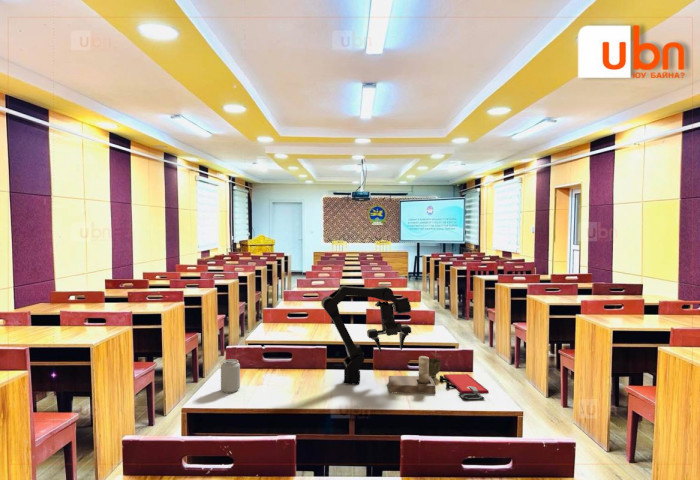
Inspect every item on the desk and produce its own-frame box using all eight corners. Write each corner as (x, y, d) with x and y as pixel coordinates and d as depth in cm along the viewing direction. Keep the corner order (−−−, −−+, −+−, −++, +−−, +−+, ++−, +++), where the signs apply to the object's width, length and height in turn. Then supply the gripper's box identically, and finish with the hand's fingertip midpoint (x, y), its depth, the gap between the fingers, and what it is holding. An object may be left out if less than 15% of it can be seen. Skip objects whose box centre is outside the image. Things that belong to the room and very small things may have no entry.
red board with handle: (459, 401, 169) (496, 400, 171) (459, 394, 169) (496, 393, 171) (435, 377, 199) (467, 377, 201) (435, 371, 199) (467, 371, 201)
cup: (439, 375, 201) (440, 357, 201) (441, 380, 193) (441, 362, 193) (423, 374, 201) (423, 357, 201) (424, 379, 194) (424, 361, 194)
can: (217, 390, 179) (217, 360, 179) (233, 385, 185) (233, 357, 184) (227, 394, 174) (227, 364, 174) (243, 390, 179) (243, 360, 179)
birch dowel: (419, 390, 180) (419, 358, 180) (417, 387, 185) (418, 356, 184) (429, 390, 180) (429, 358, 180) (427, 387, 184) (428, 356, 184)
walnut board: (390, 392, 178) (390, 385, 178) (388, 382, 190) (388, 375, 190) (435, 393, 177) (435, 385, 177) (430, 383, 189) (430, 376, 189)
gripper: (369, 320, 184) (373, 358, 184) (412, 315, 186) (416, 352, 186) (365, 317, 195) (368, 352, 195) (406, 312, 197) (409, 346, 197)
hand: (391, 351), depth 193 cm, fingers open, 9 cm apart
